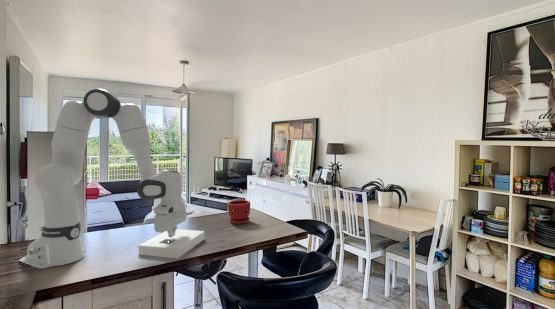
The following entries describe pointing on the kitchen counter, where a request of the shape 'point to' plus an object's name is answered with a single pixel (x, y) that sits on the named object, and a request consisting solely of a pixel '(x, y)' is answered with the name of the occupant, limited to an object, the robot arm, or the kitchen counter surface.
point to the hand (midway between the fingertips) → (171, 236)
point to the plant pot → (239, 211)
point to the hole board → (176, 249)
